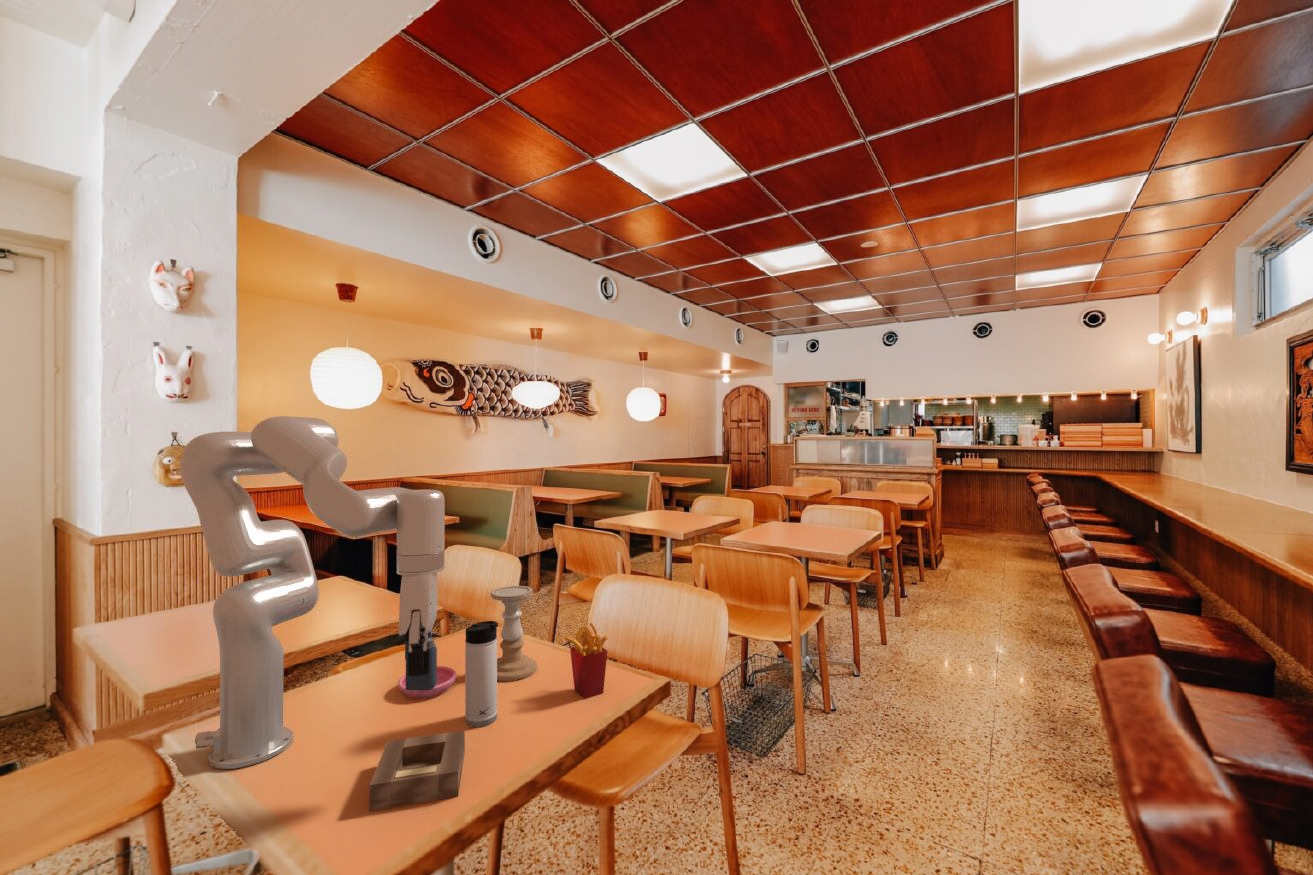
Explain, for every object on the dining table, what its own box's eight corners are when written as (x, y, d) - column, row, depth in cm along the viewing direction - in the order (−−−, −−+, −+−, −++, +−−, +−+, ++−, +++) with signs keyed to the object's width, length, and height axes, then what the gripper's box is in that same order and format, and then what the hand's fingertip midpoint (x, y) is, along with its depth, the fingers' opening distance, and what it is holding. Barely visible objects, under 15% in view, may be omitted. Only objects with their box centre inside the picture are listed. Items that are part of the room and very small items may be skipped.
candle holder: (522, 657, 144) (522, 581, 144) (546, 671, 135) (546, 591, 135) (477, 670, 135) (477, 590, 136) (500, 686, 126) (500, 600, 127)
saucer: (462, 693, 124) (462, 679, 124) (403, 708, 117) (403, 694, 117) (448, 674, 134) (448, 661, 134) (394, 687, 127) (394, 673, 127)
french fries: (609, 693, 123) (608, 627, 123) (576, 703, 118) (576, 635, 118) (590, 679, 130) (590, 617, 130) (559, 688, 125) (559, 624, 125)
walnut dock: (369, 810, 84) (369, 783, 84) (387, 763, 96) (388, 739, 96) (458, 796, 87) (458, 770, 87) (464, 751, 100) (464, 729, 100)
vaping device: (409, 683, 93) (409, 614, 93) (439, 684, 93) (439, 614, 93) (401, 690, 91) (401, 619, 91) (432, 691, 90) (432, 619, 91)
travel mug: (489, 728, 108) (489, 628, 108) (459, 725, 109) (459, 626, 109) (504, 713, 114) (503, 618, 114) (475, 710, 115) (475, 617, 115)
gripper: (406, 553, 99) (406, 654, 99) (386, 574, 83) (385, 694, 83) (449, 551, 101) (449, 649, 101) (438, 571, 85) (437, 688, 85)
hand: (420, 668), depth 92 cm, fingers closed on vaping device, 3 cm apart
